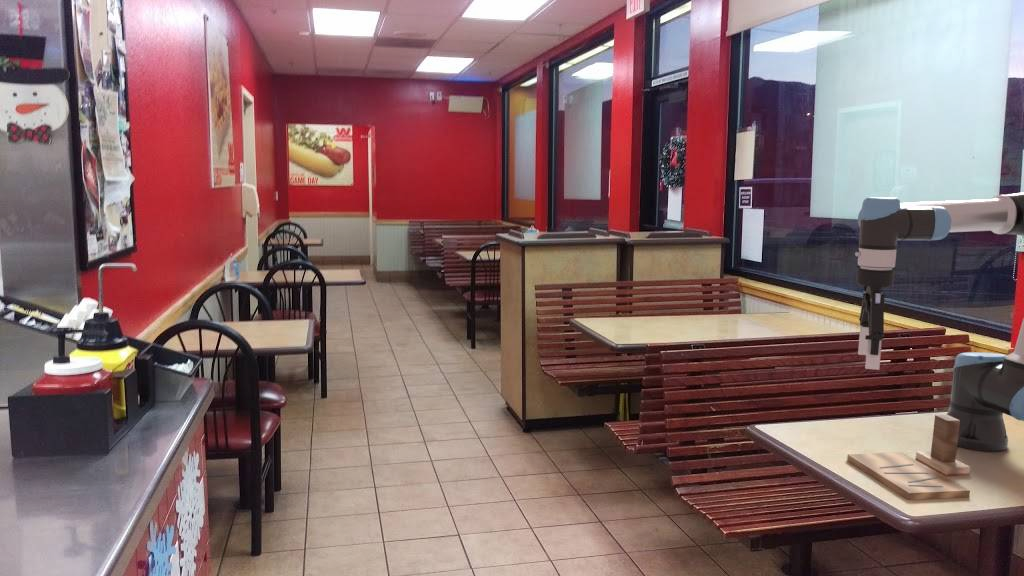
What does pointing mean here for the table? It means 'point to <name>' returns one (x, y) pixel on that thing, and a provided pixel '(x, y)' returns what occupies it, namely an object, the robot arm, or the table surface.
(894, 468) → the board
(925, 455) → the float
